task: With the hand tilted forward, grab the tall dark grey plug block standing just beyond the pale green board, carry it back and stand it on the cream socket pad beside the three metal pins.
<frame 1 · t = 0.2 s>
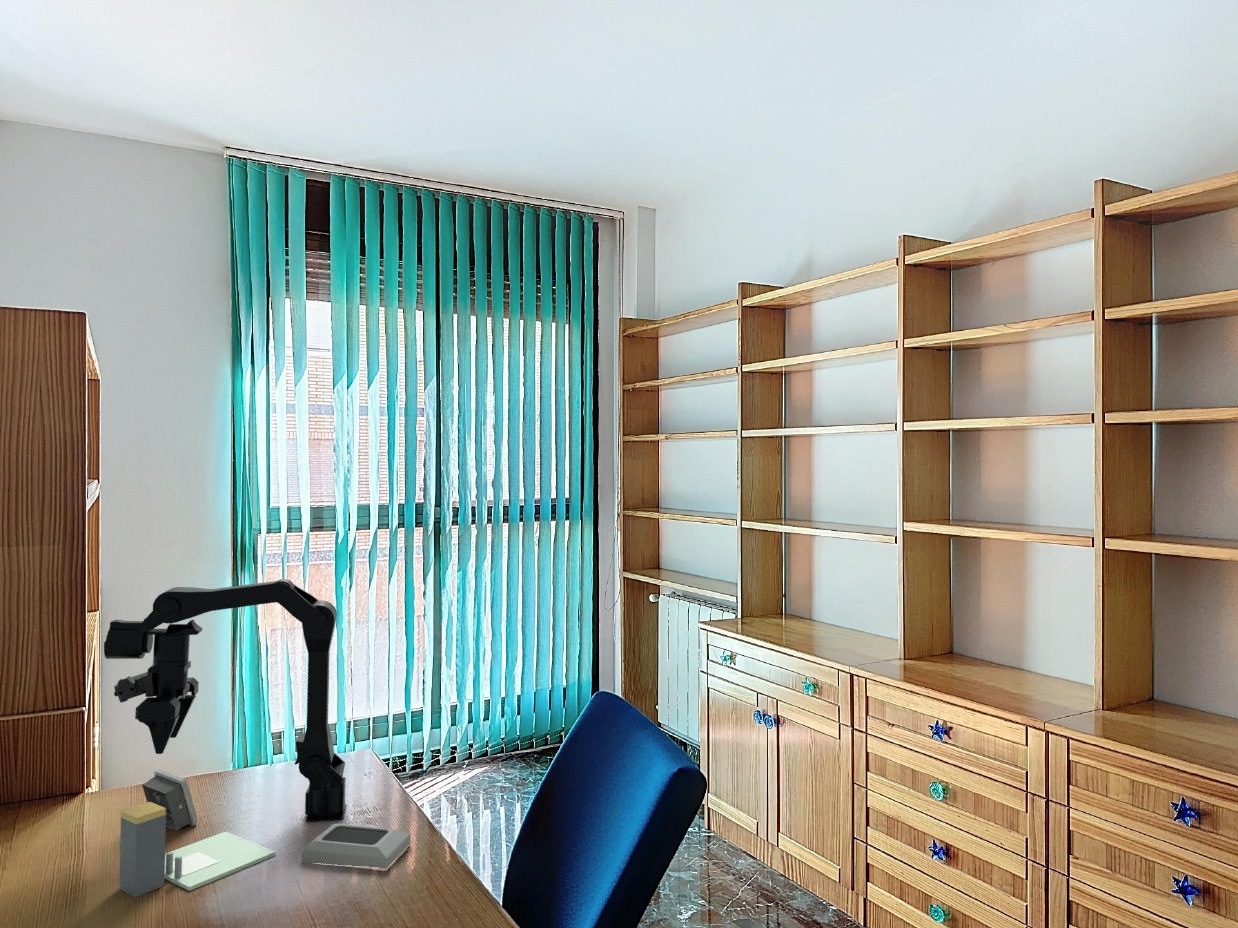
hand: (166, 745, 157), 15 cm above the table, tool pointing down, fingers open, 9 cm apart
grey beveled box: (356, 857, 147), on the table
electrical switch: (170, 825, 158), on the table
plug block: (142, 887, 134), on the table
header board: (200, 864, 142), on the table
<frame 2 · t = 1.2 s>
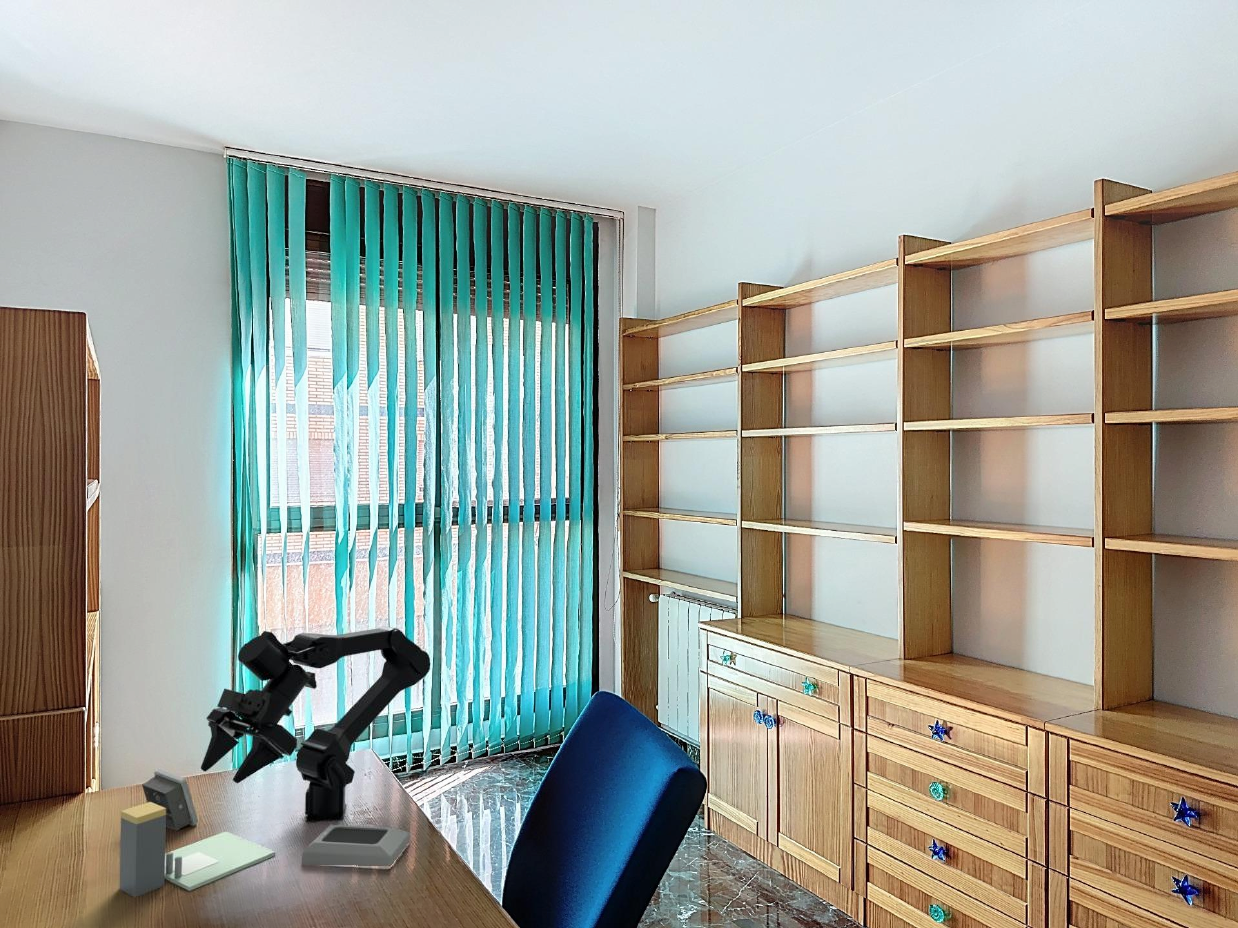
hand: (218, 775, 145), 14 cm above the table, tool tilted 45°, fingers open, 9 cm apart
nothing on the table moved.
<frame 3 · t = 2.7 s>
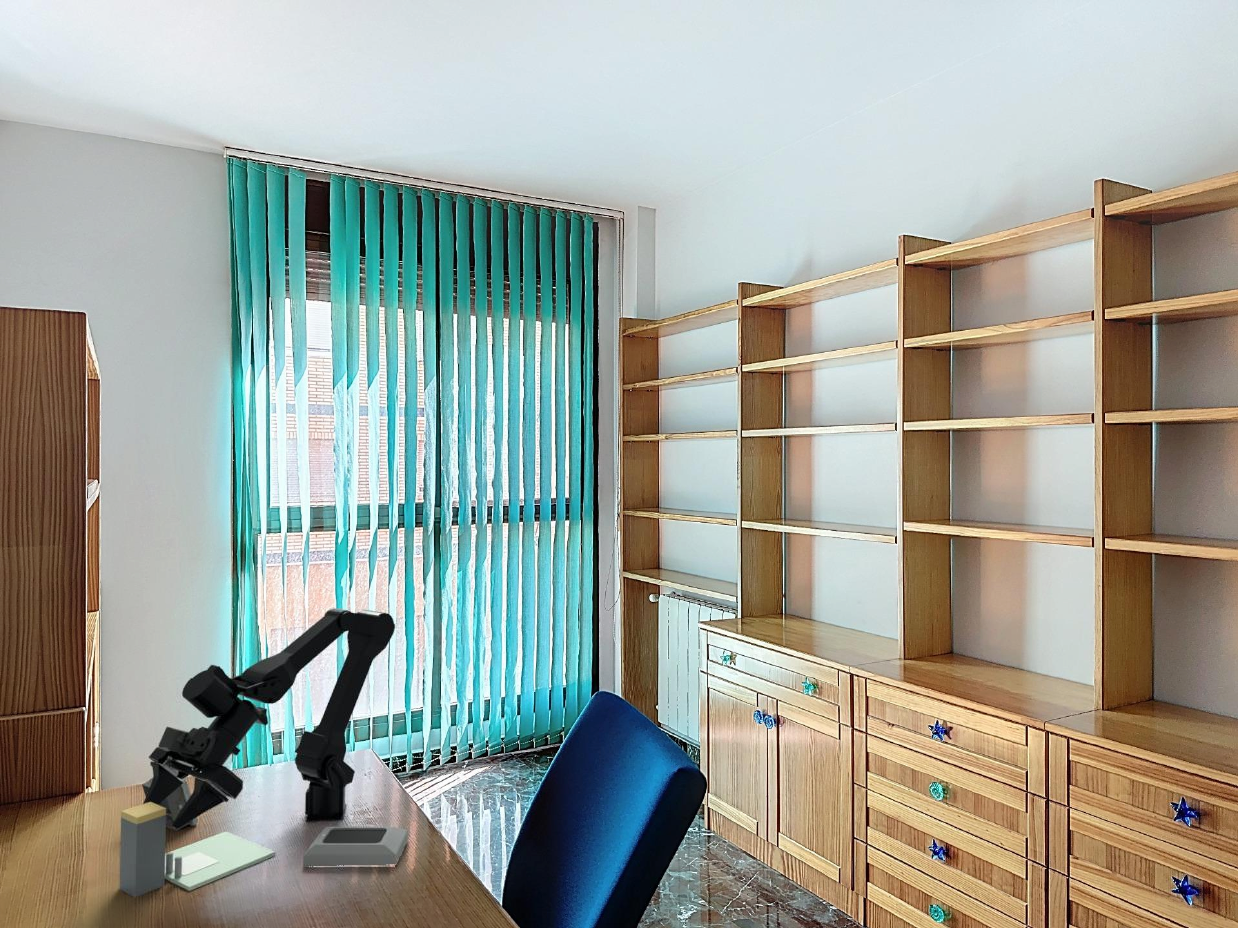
hand: (158, 820, 136), 10 cm above the table, tool tilted 45°, fingers open, 9 cm apart
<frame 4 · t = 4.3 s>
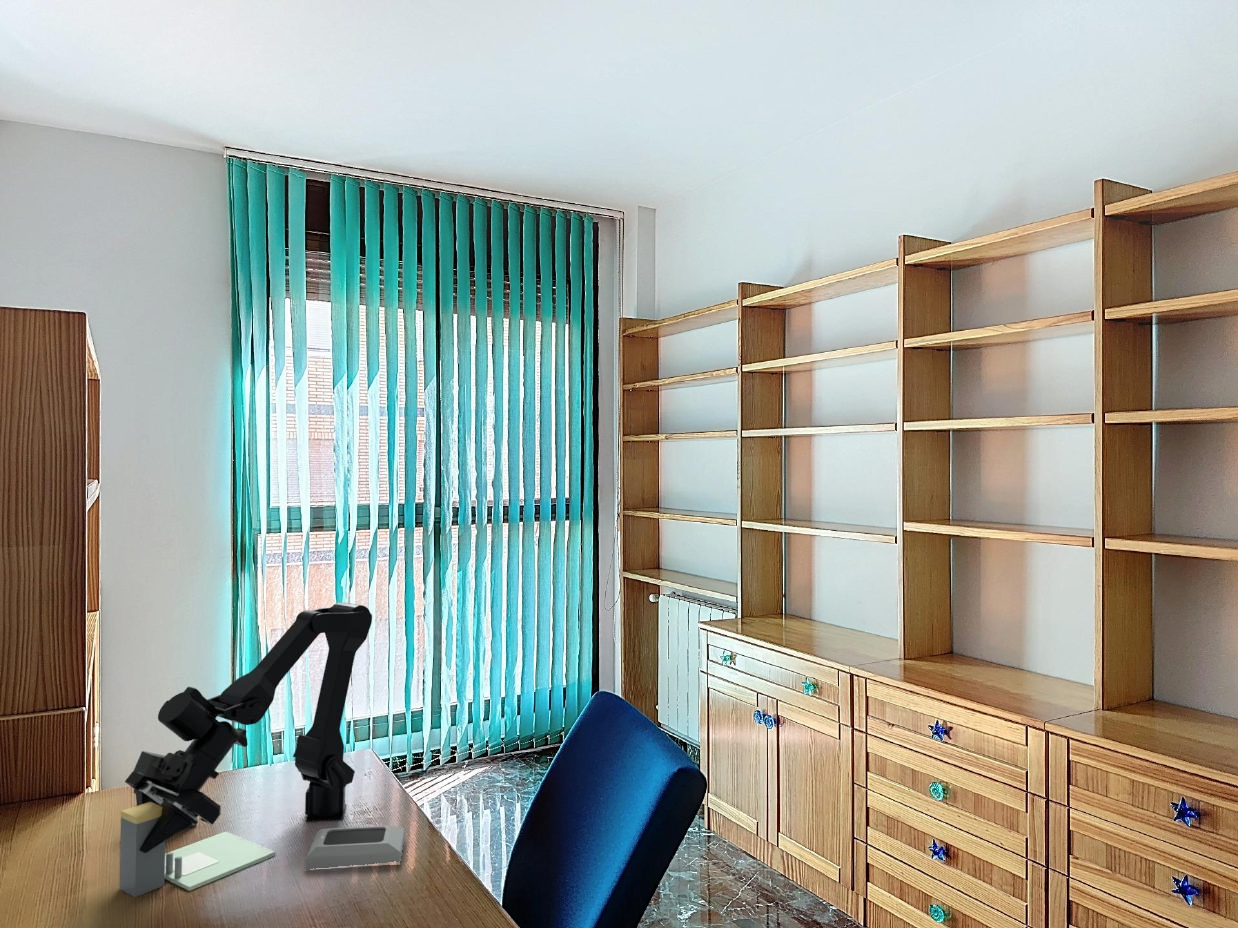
hand: (133, 847, 133), 7 cm above the table, tool tilted 45°, fingers closed on plug block, 4 cm apart
plug block: (141, 886, 134), on the table, touching gripper
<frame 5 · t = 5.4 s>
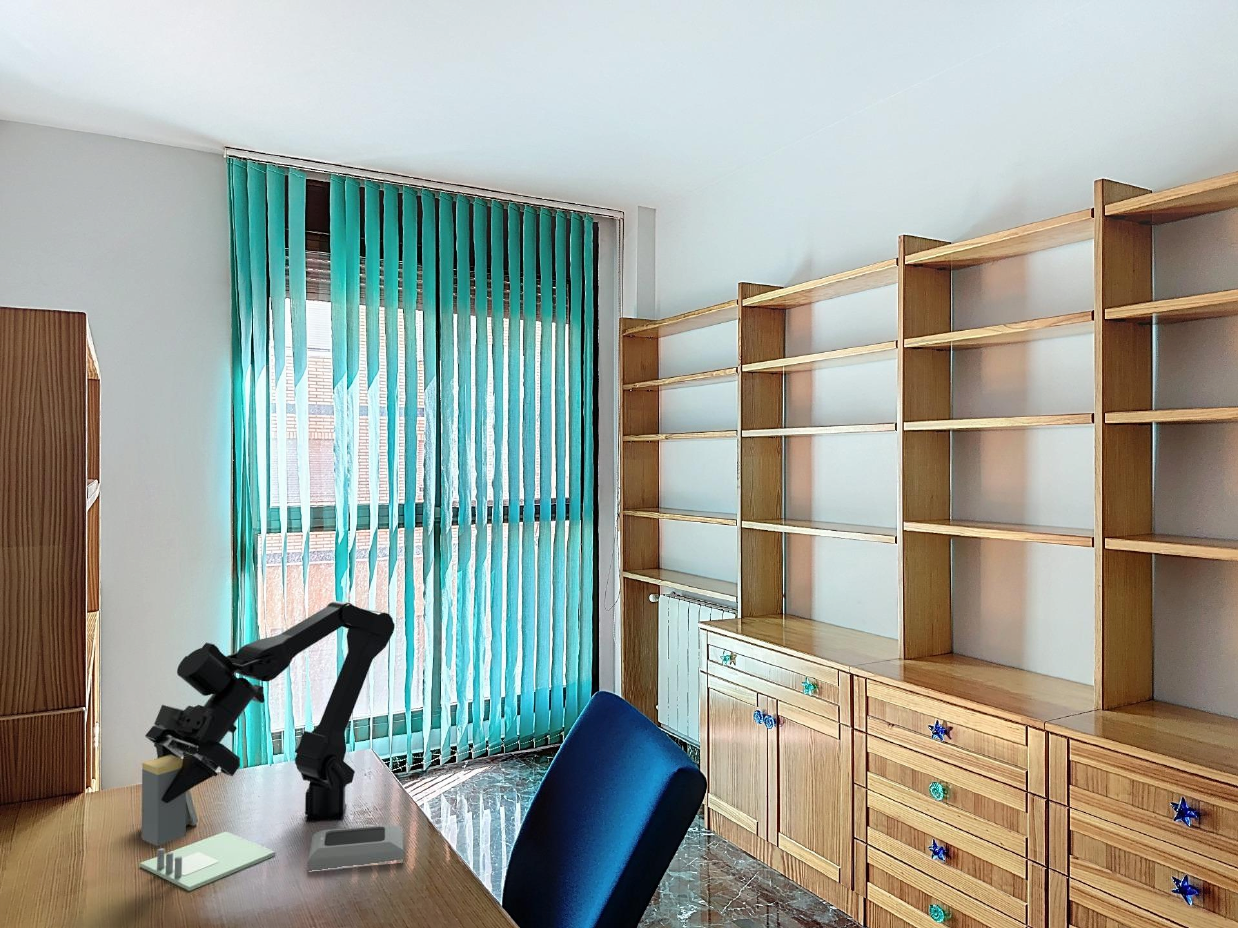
hand: (155, 798, 136), 13 cm above the table, tool tilted 45°, fingers closed on plug block, 4 cm apart
plug block: (163, 837, 137), point 7 cm above the table, touching gripper
when the fingers open (8 cm above the table, at t = 7.0 s): plug block stays where it is, resting on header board.
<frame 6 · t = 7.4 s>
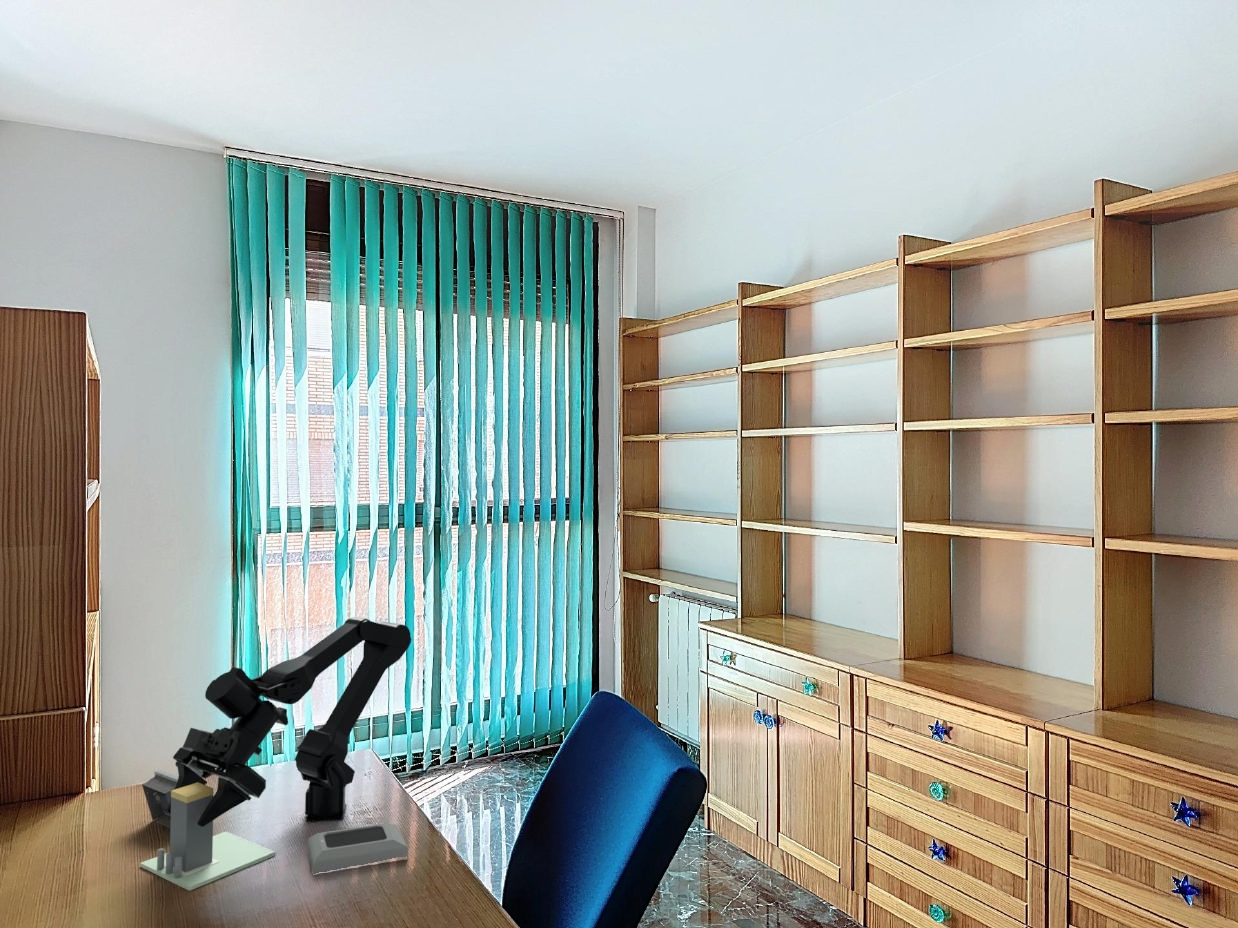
hand: (183, 818, 140), 8 cm above the table, tool tilted 45°, fingers open, 8 cm apart
plug block: (191, 863, 141), point 1 cm above the table, touching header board
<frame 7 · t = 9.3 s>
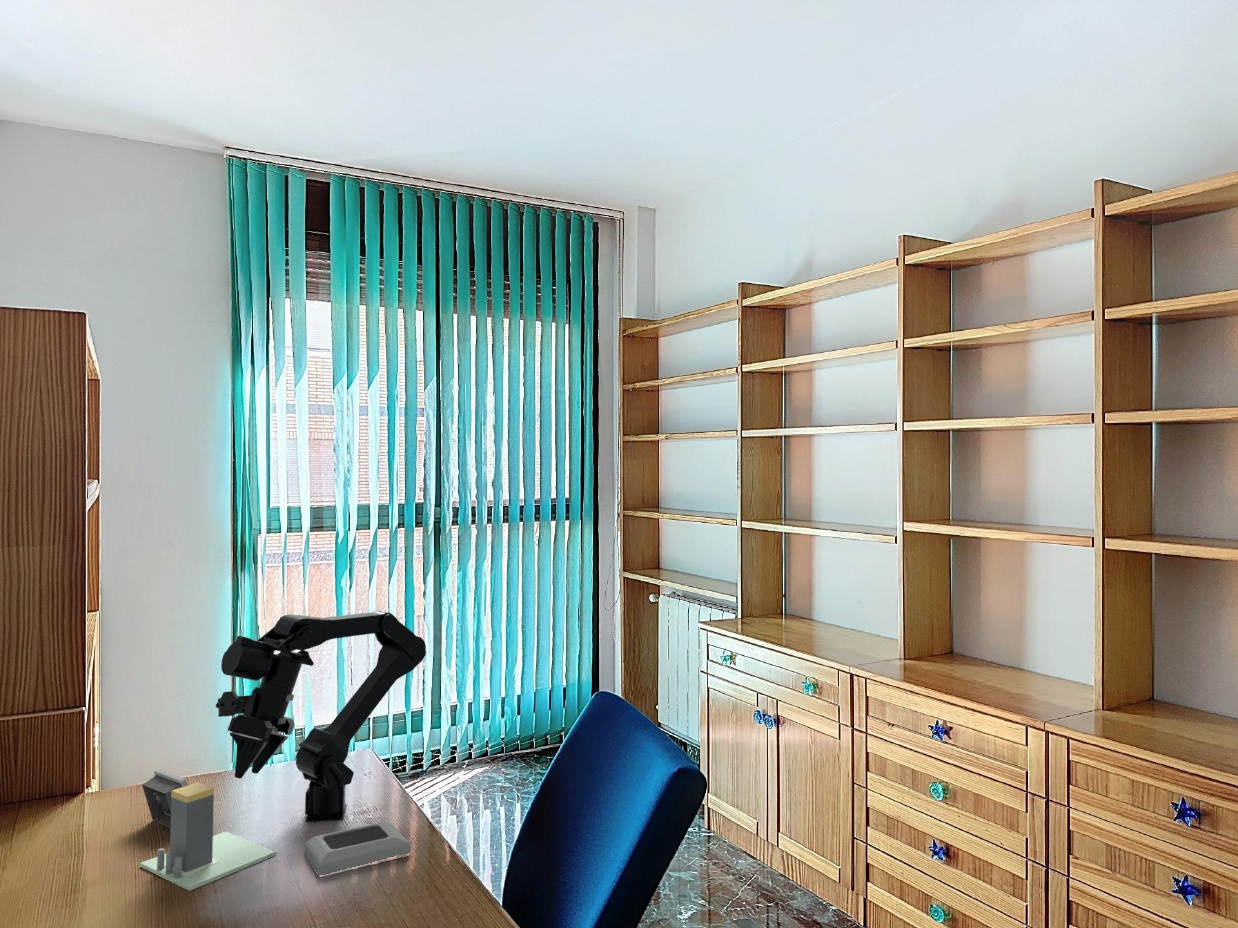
hand: (246, 775, 151), 12 cm above the table, tool tilted 20°, fingers open, 9 cm apart
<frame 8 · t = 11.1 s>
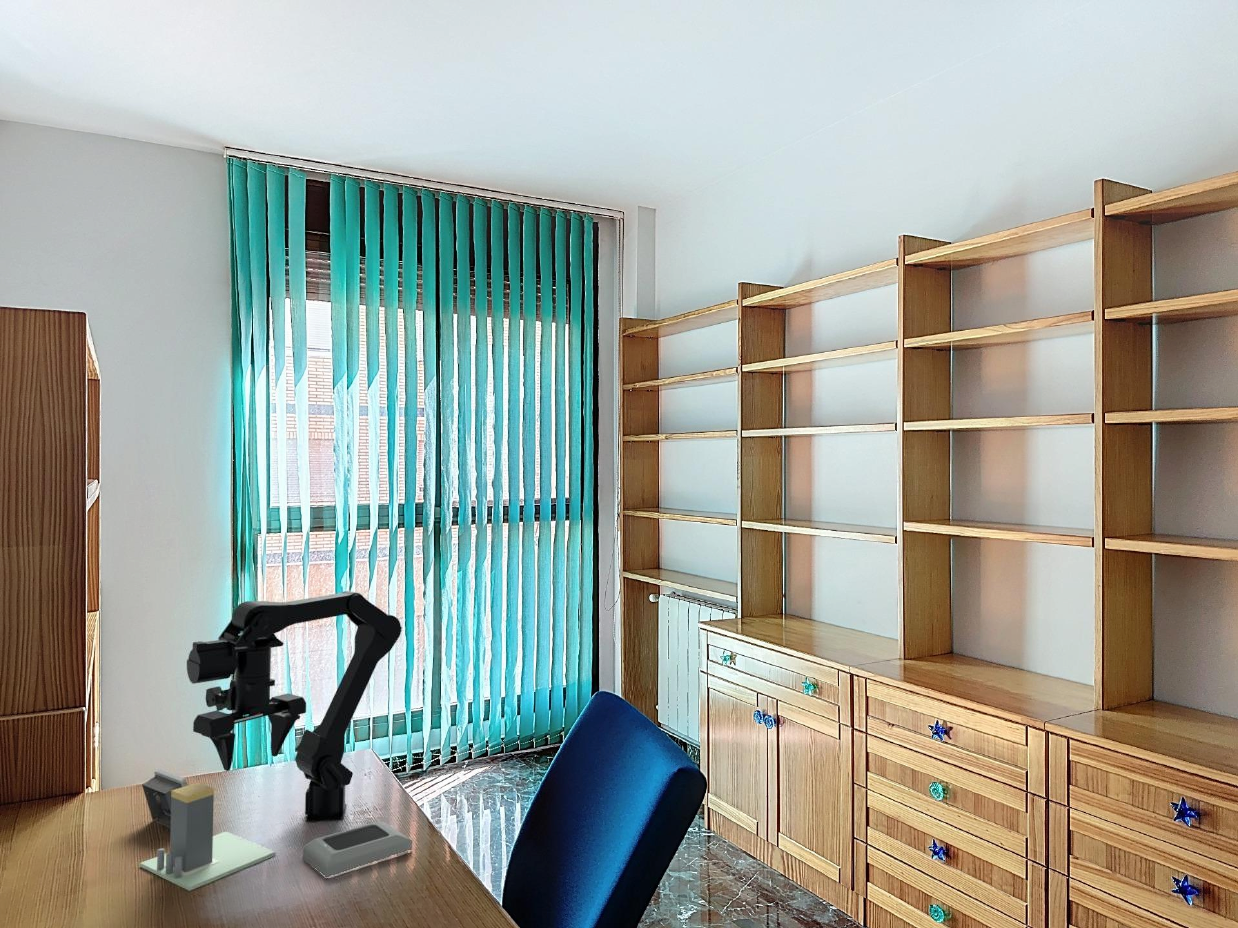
hand: (251, 762, 153), 13 cm above the table, tool pointing down, fingers open, 9 cm apart
at the end: plug block 0.0 cm from the target spot, point 0.7 cm above the table; plug block tilted 0°; plug block touching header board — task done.
